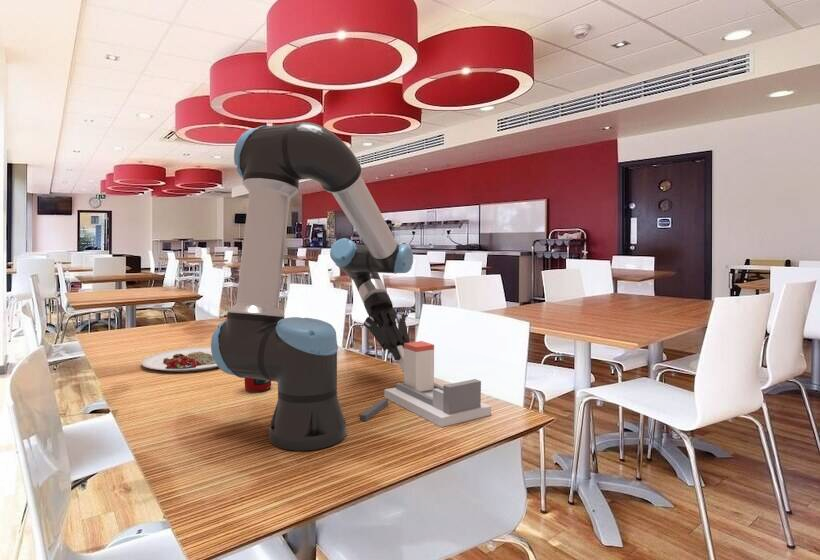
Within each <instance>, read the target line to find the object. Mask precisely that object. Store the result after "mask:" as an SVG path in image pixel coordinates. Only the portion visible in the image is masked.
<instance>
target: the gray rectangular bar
mask: <svg viewBox="0 0 820 560" xmlns="http://www.w3.org/2000/svg"><path fill="white" fill-rule="evenodd" d="M388 404H389V399H387V398H381V399H379V400H378V401H377V402H375V403H374V404H373V405H371V406H370V407H369V408H367V409H365V410H364V411H363V412H361V413H360V414H359V421H361V422H367V421H368V420H370V419H371V418H372V416H373V417H374V416H375V415H377V414H378V413H379V412H380V411H382V410H383V409H384V408H386V407H387V406H388Z"/></svg>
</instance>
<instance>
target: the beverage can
mask: <svg viewBox="0 0 820 560" xmlns="http://www.w3.org/2000/svg"><path fill="white" fill-rule="evenodd" d="M271 387H272V381H268V380H261V379H255V378H248V377H247V378H244V388H245V389H246V390H247V391H249V392H251V393H252V392H253V393H258V392H259V393H260V392H261V393H262V392H264V391H267V390H268V389H269V388H271Z"/></svg>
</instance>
